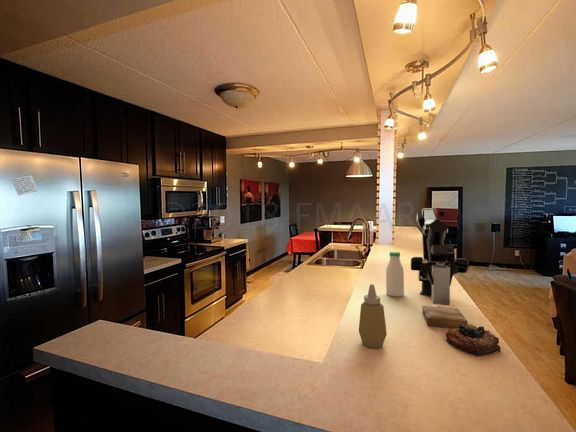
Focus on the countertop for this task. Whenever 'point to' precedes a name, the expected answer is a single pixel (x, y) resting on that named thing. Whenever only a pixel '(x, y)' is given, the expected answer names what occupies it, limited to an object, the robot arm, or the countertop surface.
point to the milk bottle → (395, 276)
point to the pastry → (473, 340)
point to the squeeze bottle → (372, 320)
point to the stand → (443, 317)
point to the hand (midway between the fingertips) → (441, 284)
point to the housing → (441, 284)
